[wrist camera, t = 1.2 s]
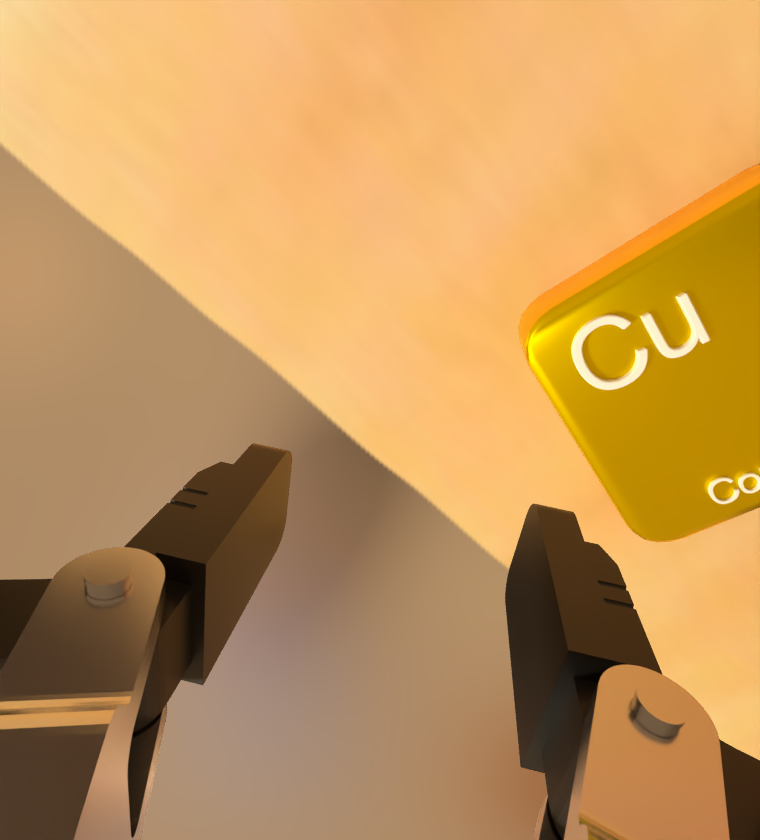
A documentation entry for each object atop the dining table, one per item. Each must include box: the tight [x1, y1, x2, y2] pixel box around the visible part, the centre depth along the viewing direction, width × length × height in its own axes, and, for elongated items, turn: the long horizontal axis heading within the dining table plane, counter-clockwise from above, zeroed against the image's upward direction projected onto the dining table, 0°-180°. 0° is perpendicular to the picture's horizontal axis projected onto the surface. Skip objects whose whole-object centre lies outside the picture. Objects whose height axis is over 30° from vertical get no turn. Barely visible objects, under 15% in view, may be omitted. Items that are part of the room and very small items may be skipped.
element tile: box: [518, 164, 760, 542], centre depth 27 cm, size 15×15×5 cm
